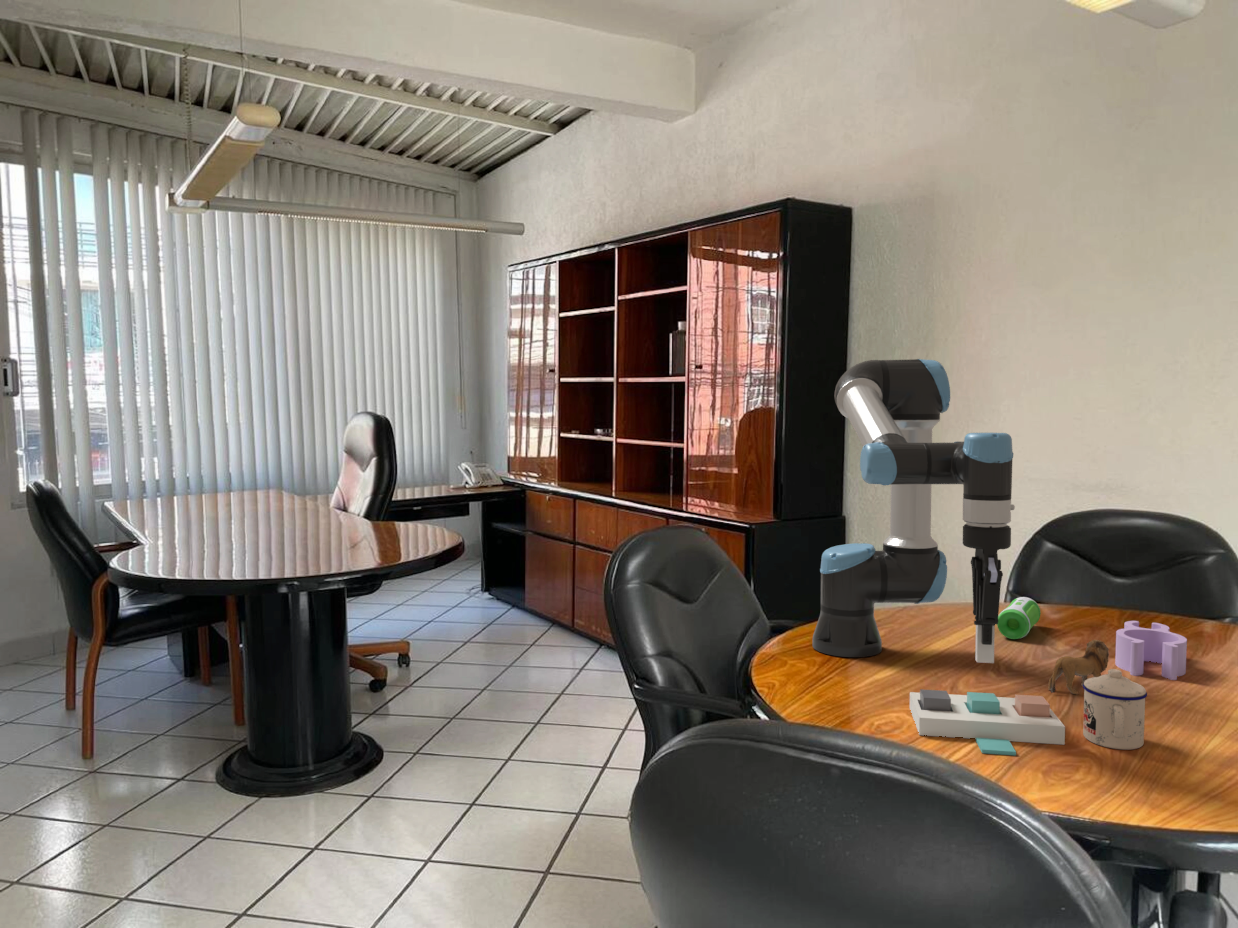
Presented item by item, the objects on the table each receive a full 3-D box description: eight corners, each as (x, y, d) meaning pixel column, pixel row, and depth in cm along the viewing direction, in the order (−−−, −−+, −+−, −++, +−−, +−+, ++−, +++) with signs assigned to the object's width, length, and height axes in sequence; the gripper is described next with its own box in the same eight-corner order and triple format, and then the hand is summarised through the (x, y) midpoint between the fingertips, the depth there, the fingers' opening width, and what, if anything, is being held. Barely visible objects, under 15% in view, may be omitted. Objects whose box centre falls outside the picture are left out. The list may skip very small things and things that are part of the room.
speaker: (1009, 623, 217) (1010, 593, 217) (1041, 627, 213) (1042, 596, 213) (994, 639, 203) (995, 607, 202) (1028, 643, 199) (1029, 611, 198)
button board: (909, 708, 157) (909, 691, 157) (1042, 715, 153) (1042, 699, 153) (919, 734, 145) (919, 717, 144) (1064, 744, 140) (1065, 726, 140)
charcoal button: (919, 706, 153) (920, 689, 153) (946, 708, 152) (946, 690, 152) (923, 715, 148) (923, 697, 148) (950, 717, 148) (950, 699, 147)
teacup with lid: (1079, 726, 148) (1080, 659, 147) (1140, 734, 144) (1143, 665, 143) (1085, 752, 137) (1087, 680, 136) (1152, 761, 133) (1155, 687, 132)
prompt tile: (975, 740, 142) (975, 737, 142) (1008, 743, 141) (1008, 739, 141) (982, 753, 137) (982, 749, 137) (1016, 755, 136) (1016, 751, 136)
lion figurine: (1090, 680, 172) (1091, 635, 172) (1115, 687, 168) (1117, 642, 167) (1039, 691, 166) (1040, 645, 165) (1064, 699, 161) (1066, 652, 160)
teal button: (966, 709, 151) (967, 691, 151) (993, 711, 150) (994, 693, 150) (971, 718, 147) (972, 700, 147) (999, 720, 146) (999, 701, 146)
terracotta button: (1014, 712, 150) (1015, 694, 149) (1042, 714, 149) (1042, 695, 148) (1021, 721, 145) (1021, 703, 145) (1049, 723, 144) (1049, 704, 144)
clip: (1111, 649, 194) (1112, 618, 193) (1177, 655, 188) (1178, 624, 188) (1117, 674, 176) (1118, 641, 176) (1190, 682, 170) (1191, 648, 170)
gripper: (1020, 529, 139) (1017, 673, 140) (1001, 519, 152) (999, 652, 153) (970, 528, 141) (968, 671, 142) (956, 518, 153) (954, 650, 155)
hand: (984, 661), depth 148 cm, fingers closed
